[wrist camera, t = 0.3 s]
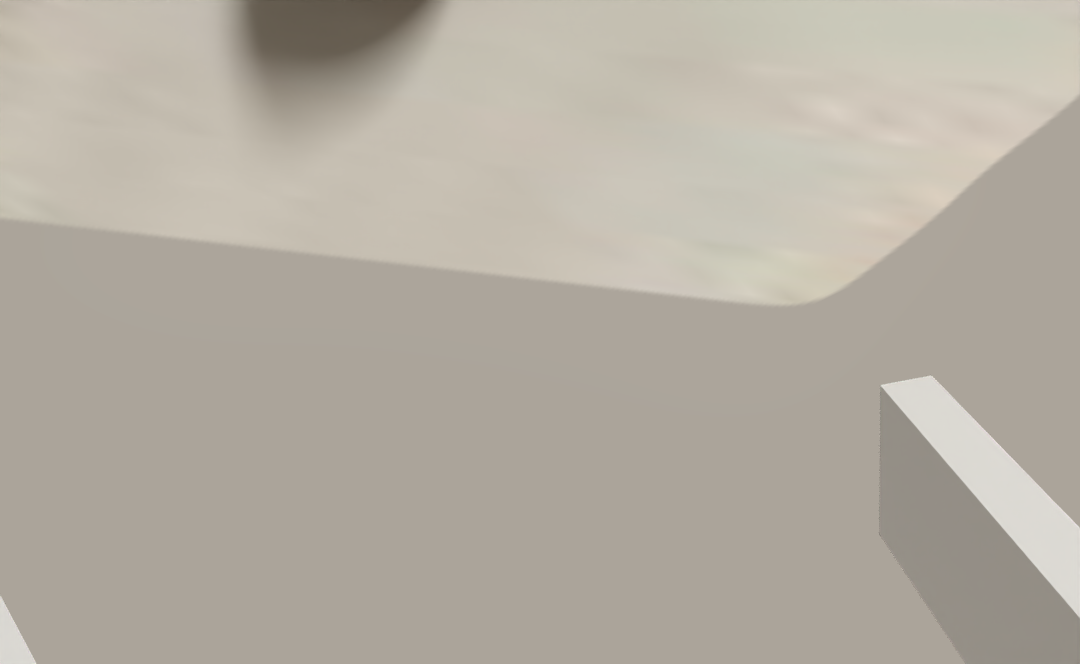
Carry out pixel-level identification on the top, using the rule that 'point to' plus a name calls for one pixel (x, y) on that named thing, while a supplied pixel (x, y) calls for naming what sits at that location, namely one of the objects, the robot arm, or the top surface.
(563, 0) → the top surface
